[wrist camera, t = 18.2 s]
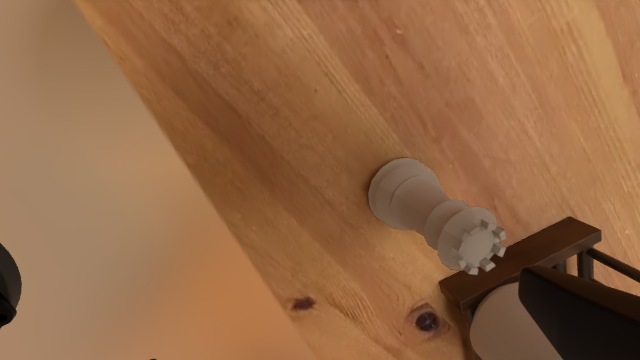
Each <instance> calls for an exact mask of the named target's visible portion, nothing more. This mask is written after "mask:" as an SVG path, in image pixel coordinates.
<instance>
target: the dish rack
mask: <svg viewBox="0 0 640 360" xmlns="http://www.w3.org/2000/svg"><path fill="white" fill-rule="evenodd" d="M600 241H601V230H600V229H598V228H595V227H593V226H591V225H588V224H586V223H584V222H582V221H579V220H577V219H575V218H572V217H568V218H566V219H564V220H562V221H560V222H558V223H556V224H554V225H552V226H550V227H548V228H546V229H544V230H542V231H540V232H538V233H536V234H534V235H532V236H530V237H528V238H526V239H524V240H522V241H520V242H518V243H516V244H514V245H512V246H510V247H508V248H506V250H505V252H504V255H503V257H501V256H498V255H497V254H494V255H492V257H491V258H490V259H489V260H490V261H492V262H493V263H494V265H495V266H494V267H493V268H492V269H490V270H489V271H487V272H486V271H485V270H484V269H482V268H481V267H477V268H478V269H479V270H478V274H477V275H474V274H468V273H467V272H466V271H464V270H463V271H460V272H458V273H456V274H454V275H452V276H450V277H448V278H446V279H444V280H442V281H440V282H439V283H440V288H441V292H442V293H443V294H444V295H445V296H446V297H447V298H448V299H449V300H450V301H451V302H452V303H453V304H454V305H455V306H456V307H457V308H458V309H459V310H460V311H461V312H462V313H463V312H465V317H466V321H467V326H468V331H469V335H470V328H471V324H472V321H473V317H474V314H475V311H476V309H477V307H478V305H479V304H480V303H481V302H482V300H483V299H484V298H485V297H486V296H487V295H488V294H489V293H490V292H492V291H493V290H495V289H496V288H498V287H500V286H503V285H506V284H512V283H517V282H519V273H520V270H521V269H522V268H523V267H526V266H530V265H534V264H539V265H542V266H545V267H549V268H552V269H555V270H558V271H561V272H564V273H566V262H565V259H567V258H569V257H571V256H573V255H575V254H577V270H578V277H580V278H583V279H586V280H589V281H592V282H596V283H599V284H602V283H600V282H599V281H597V280H595V279H594V265H593V259H595V260H597V261H599V262H601V263H603V264H604V265H606V266H608V267H610V268H612V269H614V270H616V271H618V272H620V273H622V274H624V275H626V276H627V277H629V278H631V279H633V280H635V281H637V282H639V283H640V271H639V270H637V269H635V268H633V267H631V266H629V265H627V264H625V263H623V262H621V261H619V260H617V259H615V258H613V257H611V256H609V255H607V254H605V253H603V252H601V251H599V250H597V249H595V248H593V245H594V244H596V243H598V242H600ZM602 285H604V284H602ZM605 286H606V285H605ZM472 349H473V347H472ZM473 353H474V358H475V360H482V359H481V357H480V356H479V355H478V354H477V353H476V352H475V350H474V349H473Z"/></svg>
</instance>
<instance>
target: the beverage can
mask: <svg viewBox="0 0 640 360" xmlns="http://www.w3.org/2000/svg"><path fill="white" fill-rule="evenodd" d="M518 285H519V282H517V283H512V284H506V285H503V286H500V287H498V288H496V289H495V290H493V291H492V292H490V293H489V294H488V295H487V296H486V297H485V298H484V299H483V300H482V302H481V303H480V304H479V306H478V307H477V309H476V311H475V314H474V317H473V321H472V324H471V328H470V341H471V345H472V347H473V349H474V350H475V352H476V353H477V354H478V355H479V356H480V357H481V359H482V360H563V359H562V358H561V357H560V355H559V354H558V353H557V351H556V350H555V349H554V347H553V346H552V345H551V343H550V342H549V341H548V339H547V338H546V337H545V335H544V334H543V332H542V331H541V330H540V328H539V327H538V326H537V324H536V323H535V321H534V320H533V319H532V317H531V316H530V315H529V313H528V312H527V310H526V309H525V308H524V306H523V305H522V303H521V302H520V300H519V297H518Z"/></svg>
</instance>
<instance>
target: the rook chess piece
mask: <svg viewBox="0 0 640 360" xmlns="http://www.w3.org/2000/svg"><path fill="white" fill-rule="evenodd" d="M368 196H369V206H370V208H371V210H372V212H373V213H374V215H375V217H377V218H378V219H380V220H381V221H382V222H384V223H385V224H387V225H388V226H390V227H391V228H394V229H400V230H412V231H416V232H418V233H420V234H421V235H423V236H424V237H425V239H426V241H427V243H428V245H429V246H430V247H432V248H433V249H435V250H438V256H439V258H440V260H441V262H442V264H444V265H445V266H447V267H448V268H450V269H451V270H461V271H463V270H464V271H466V272H467V273H468V274H474V275H477V274H478V270H479V269H478V268H477V267H481V268H482V269H484V270H485V271H486V272H487V271H489V270H490V269H492V268H493V267H494V266H495V265H494V263H493V262H492V261H490V260H489V259H490V258H491V257H492V255H493V254H494V253H495V254H497V255H498V256H501V257H503V255H504V252H505V250H506V248H507V247H505V246H503V245H502V244H500V243H499V239H500V240H504V239H506V238H507V236H506V234H505V231H504V229H502V228H500V227H499V226H498V223H497V220H496V218H495V215H494V214H493V213H491V212H490V211H489V210H488V209H487V208H481V207H476V206H475V207H472V208H470V206H469V205H467V204H466V203H465V202H464V201H460V200H455V199H453V200H452V199H450V198H449V197H448V196H447V195H446V194H445V193H444V192H443V191H442V188H441V185H440V183H439V181H438V178H437V176H436V175H435V173H434V172H433V171H432V170H430V169H429V168H428V167H427V166H425V165H423V164H422V163H421V162H419V161H418V160H415V159H410V158H402V159H397V160H393V161H391V162H390V163H388V164H387V165H385V166H384V167H382V168H381V169H380V170H379V172H378V173H377V174H376V176H375V177H374V178H373V180H372V183H371V186H370V189H369V192H368Z"/></svg>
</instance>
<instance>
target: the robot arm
mask: <svg viewBox="0 0 640 360" xmlns="http://www.w3.org/2000/svg"><path fill="white" fill-rule="evenodd" d="M518 297H519V300H520V302H521V303H522V305H523V306H524V308H525V309H526V310H527V312H528V313H529V315H530V316H531V317H532V319H533V320H534V321H535V323H536V324H537V326H538V327H539V328H540V330H541V331H542V332H543V334H544V335H545V337H546V338H547V339H548V341H549V342H550V343H551V345H552V346H553V347H554V349H555V350H556V351H557V353H558V354H559V355H560V357H561V358H562V359H563V360H640V296H636V295H633V294H630V293H627V292H624V291H621V290H618V289H614V288H611V287H608V286H605V285H602V284H599V283H596V282H592V281H589V280H586V279H583V278H580V277H577V276H574V275H571V274H567V273H564V272H561V271H558V270H555V269H552V268H549V267H545V266H542V265H539V264H534V265H530V266H526V267H523V268H522V269H521V270H520V273H519V285H518ZM0 313H4V314H6V315H7V316H2V315H1V314H0V327H2V326H4V325H6V324H8V323H10V322H11V321H12V320H13V318H14V317H15V316H16V313H17V312H16V309H15V308H14V306H13V305H12V304H11V303H10V302H9V301H8V300H7V299H6V297H5V296H4V295H3V294H2V293H1V292H0ZM151 360H156V359H151Z"/></svg>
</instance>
